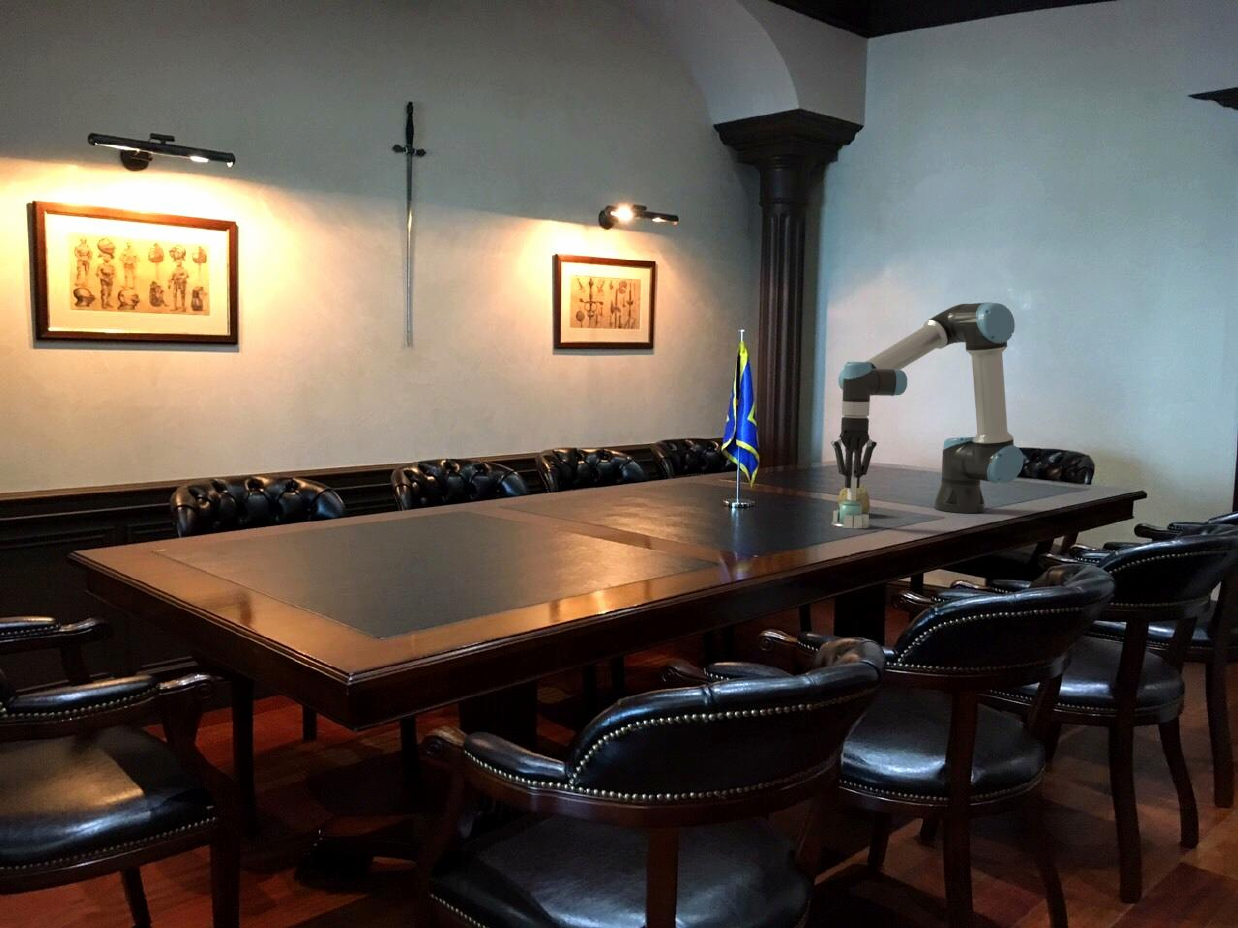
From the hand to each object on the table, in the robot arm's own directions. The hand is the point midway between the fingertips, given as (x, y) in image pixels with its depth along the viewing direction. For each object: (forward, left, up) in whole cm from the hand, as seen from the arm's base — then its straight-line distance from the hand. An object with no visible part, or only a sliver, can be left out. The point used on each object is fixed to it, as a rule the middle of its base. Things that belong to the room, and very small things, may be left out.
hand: (851, 499), depth 293 cm
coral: (-8, -18, -8) cm, 21 cm away
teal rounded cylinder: (0, 0, -7) cm, 7 cm away
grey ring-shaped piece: (0, 0, -7) cm, 7 cm away
